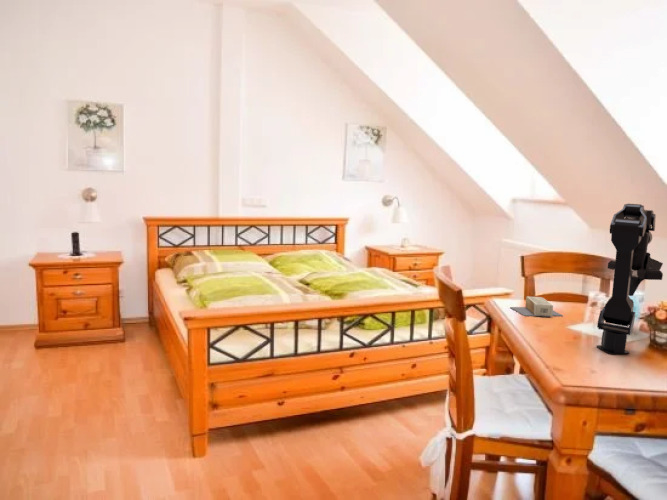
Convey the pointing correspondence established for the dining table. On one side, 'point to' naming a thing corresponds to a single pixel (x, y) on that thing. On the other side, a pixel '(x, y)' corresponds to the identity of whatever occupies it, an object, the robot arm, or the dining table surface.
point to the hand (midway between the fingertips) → (630, 295)
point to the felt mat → (527, 312)
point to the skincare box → (539, 306)
